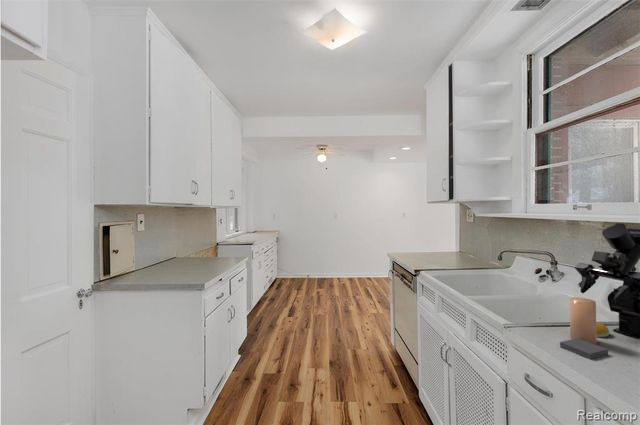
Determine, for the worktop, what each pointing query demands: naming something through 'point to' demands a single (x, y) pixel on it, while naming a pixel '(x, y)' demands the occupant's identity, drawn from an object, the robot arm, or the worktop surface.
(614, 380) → the worktop surface
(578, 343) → the plate
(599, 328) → the bread roll
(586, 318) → the peach cylinder
